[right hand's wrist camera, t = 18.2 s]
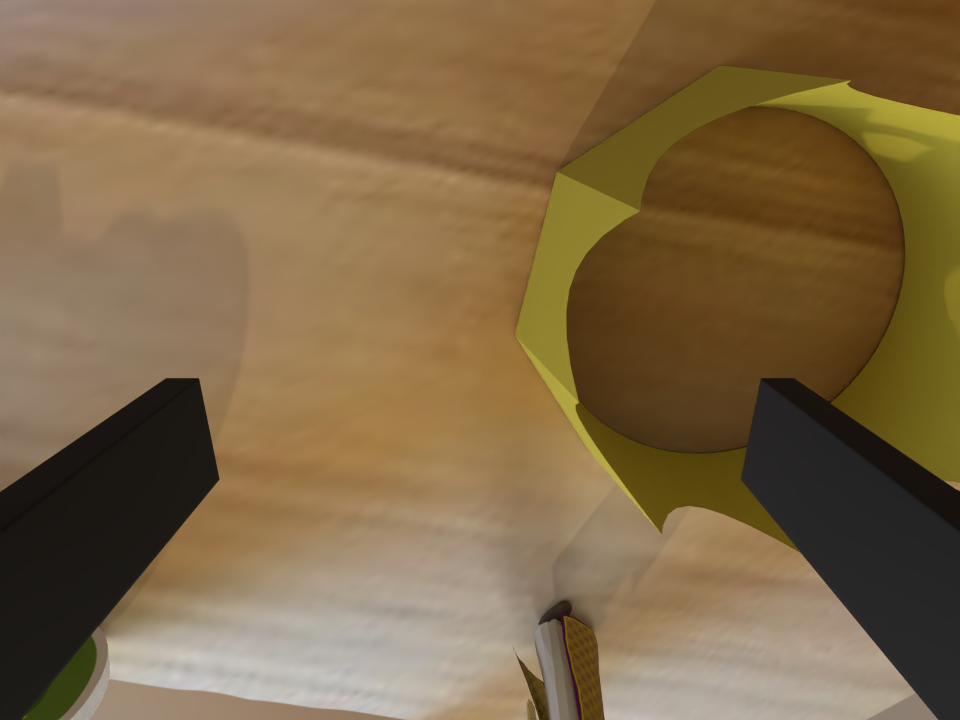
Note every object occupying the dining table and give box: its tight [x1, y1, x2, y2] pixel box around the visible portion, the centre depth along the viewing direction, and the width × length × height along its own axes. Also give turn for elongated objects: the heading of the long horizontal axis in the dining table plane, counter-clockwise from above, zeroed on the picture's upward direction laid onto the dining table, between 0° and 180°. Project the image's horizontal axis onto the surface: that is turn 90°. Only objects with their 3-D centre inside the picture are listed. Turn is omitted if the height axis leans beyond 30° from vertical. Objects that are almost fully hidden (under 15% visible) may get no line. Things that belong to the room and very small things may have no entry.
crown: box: [515, 65, 960, 553], centre depth 38 cm, size 36×36×15 cm
